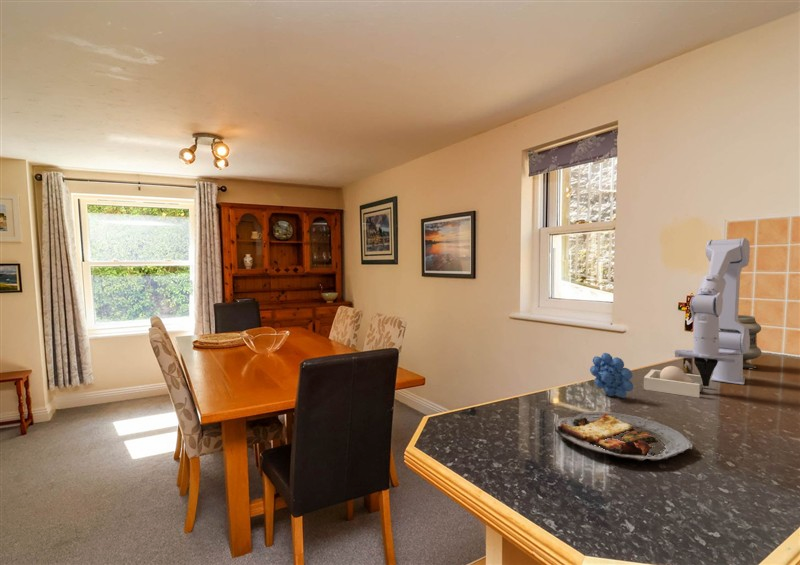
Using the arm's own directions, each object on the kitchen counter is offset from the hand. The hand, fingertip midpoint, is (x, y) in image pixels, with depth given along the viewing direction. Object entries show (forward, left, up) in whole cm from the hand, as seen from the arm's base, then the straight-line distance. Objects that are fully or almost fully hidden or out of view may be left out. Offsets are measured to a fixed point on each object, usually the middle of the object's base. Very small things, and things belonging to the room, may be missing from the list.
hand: (705, 385), depth 116 cm
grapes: (+20, -20, -2) cm, 28 cm away
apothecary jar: (-45, +6, -2) cm, 45 cm away
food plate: (+50, -11, -3) cm, 51 cm away
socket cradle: (0, -7, -2) cm, 7 cm away
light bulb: (0, -6, -2) cm, 6 cm away
